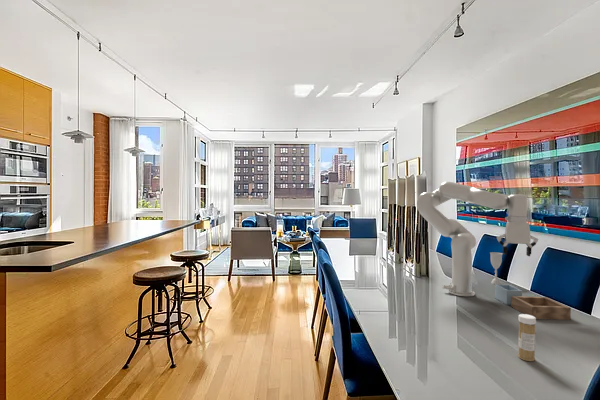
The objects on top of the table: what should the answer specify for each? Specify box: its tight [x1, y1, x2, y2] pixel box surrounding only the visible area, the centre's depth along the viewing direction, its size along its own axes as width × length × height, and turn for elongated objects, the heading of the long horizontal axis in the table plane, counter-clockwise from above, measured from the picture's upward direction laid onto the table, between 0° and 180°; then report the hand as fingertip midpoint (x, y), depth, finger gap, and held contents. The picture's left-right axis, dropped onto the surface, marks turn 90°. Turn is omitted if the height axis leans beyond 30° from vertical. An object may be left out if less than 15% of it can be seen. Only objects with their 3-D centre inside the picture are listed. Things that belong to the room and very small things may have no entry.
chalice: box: [489, 251, 504, 285], centre depth 206 cm, size 7×7×18 cm
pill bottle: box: [517, 313, 537, 362], centre depth 108 cm, size 5×5×14 cm
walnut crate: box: [510, 295, 572, 321], centre depth 152 cm, size 16×16×5 cm
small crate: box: [494, 284, 523, 306], centre depth 169 cm, size 7×11×7 cm, turn 177°
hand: (516, 255), depth 167 cm, fingers open, 9 cm apart
